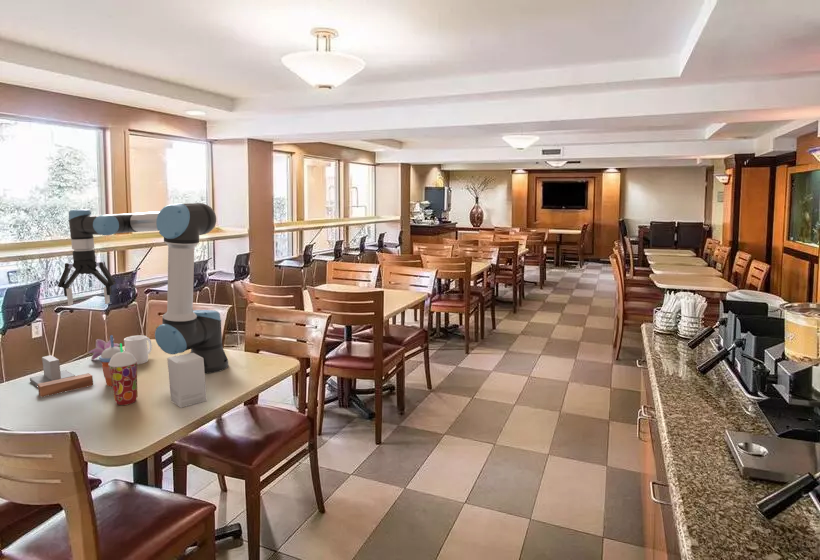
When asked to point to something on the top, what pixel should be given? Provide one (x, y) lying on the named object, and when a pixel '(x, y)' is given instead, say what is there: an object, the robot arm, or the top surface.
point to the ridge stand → (50, 371)
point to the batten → (65, 384)
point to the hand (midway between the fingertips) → (89, 304)
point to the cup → (138, 347)
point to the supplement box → (187, 379)
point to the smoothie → (123, 377)
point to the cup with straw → (108, 360)
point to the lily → (101, 347)
